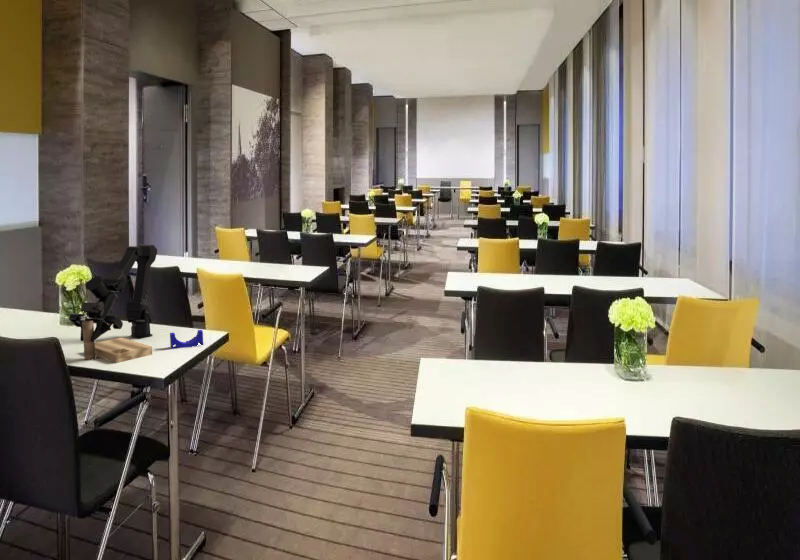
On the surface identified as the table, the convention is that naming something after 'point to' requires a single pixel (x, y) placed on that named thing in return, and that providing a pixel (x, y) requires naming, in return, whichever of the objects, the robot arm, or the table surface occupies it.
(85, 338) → the stool leg
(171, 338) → the blue cradle bracket
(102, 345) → the stool seat
